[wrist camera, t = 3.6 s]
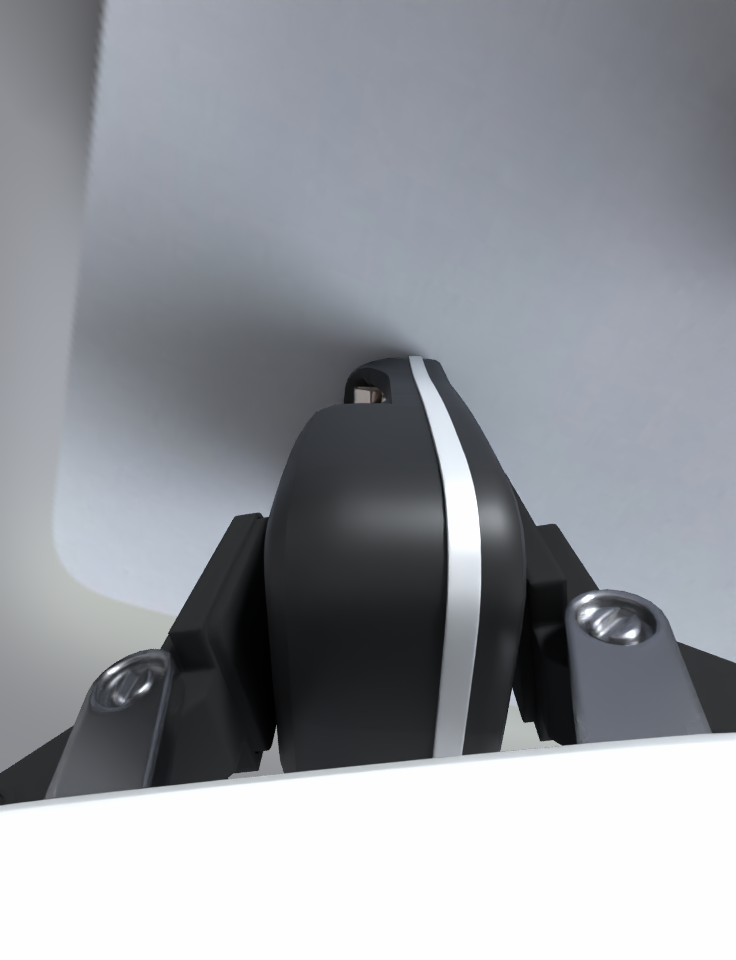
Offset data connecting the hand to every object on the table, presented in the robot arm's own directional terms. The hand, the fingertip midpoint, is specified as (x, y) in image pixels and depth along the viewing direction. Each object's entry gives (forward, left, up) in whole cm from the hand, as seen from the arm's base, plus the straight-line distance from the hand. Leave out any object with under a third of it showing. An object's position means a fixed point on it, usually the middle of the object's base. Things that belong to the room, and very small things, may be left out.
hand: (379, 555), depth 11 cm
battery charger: (0, 0, -7) cm, 7 cm away
